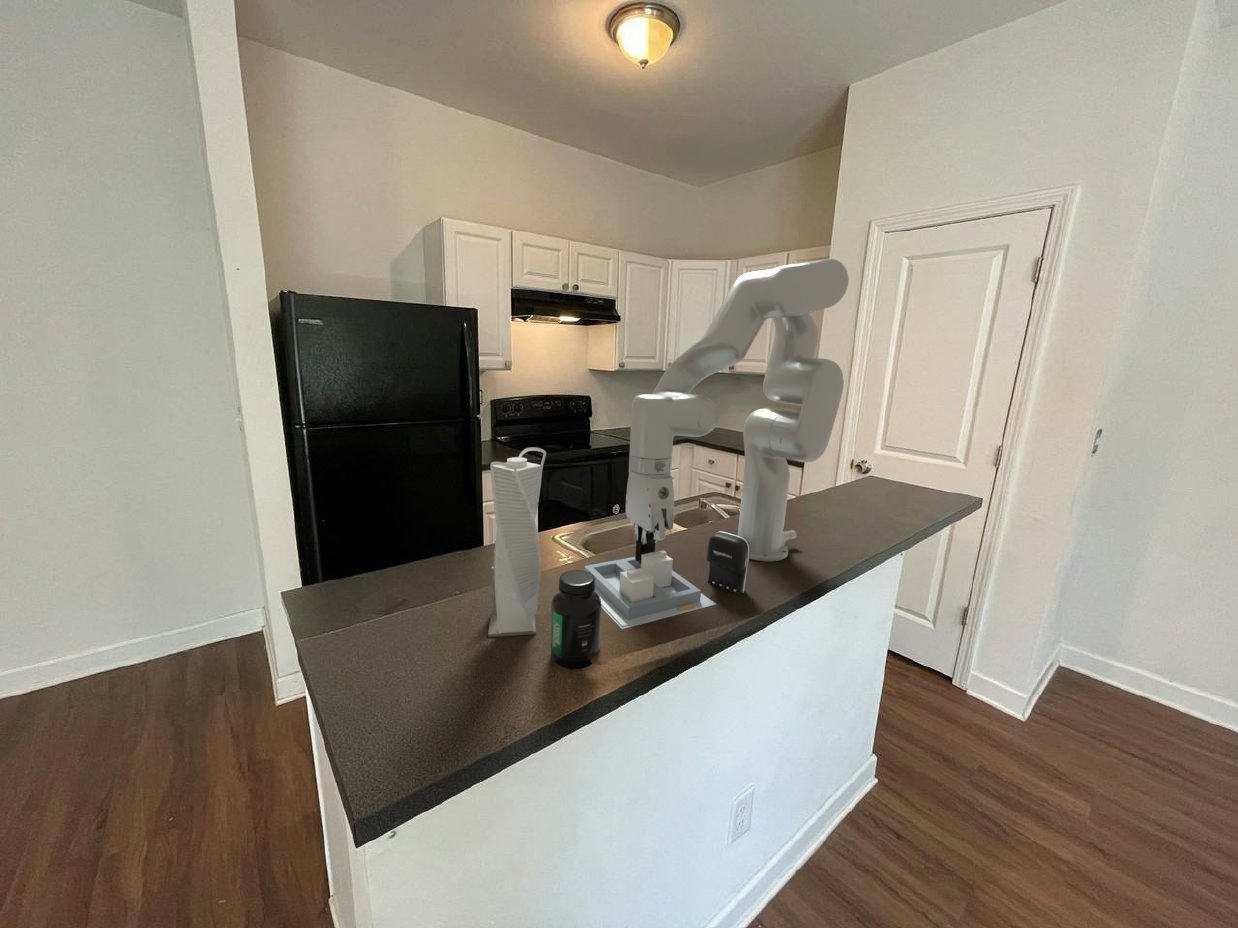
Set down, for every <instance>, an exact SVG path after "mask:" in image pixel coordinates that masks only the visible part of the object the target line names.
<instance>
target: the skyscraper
mask: <svg viewBox="0 0 1238 928" xmlns="http://www.w3.org/2000/svg"><path fill="white" fill-rule="evenodd" d="M530 451H531V452H532V451H533V452H534V451H535V452H541V453H543V456H542V459H541V463H540V464H537V463H534V462H533V463H532V462H528V458H526V457H523V455H524V454H526V453H528V452H530ZM546 456H547V451H546V450H545V449H542V448H541V447H536V446H535V447H534V446H533V447H525V449H523V450H522V451H521V452H520V453H519V455H518V456H515V457H509V458H507V459H506V462H502V461H492V462H491V463H490V467H489V468H490V475H491V476H490V477H491V479H490V480H491V489H492V490H491V491H492V499H493V500H492V502H493V511H494V519H495V523H496V532H495V540H494V546H495V547H494V551H493V559H494V561H493V566H491V577H492V588H491V592H490V596H491V601H492V602H491V603H492V606H491V611H490V612H491V613H490V620H489V625H488V632H487V637H488V638H491V637H492V638H493V637H494V638H495V637H509V636H512V637H513V636H525V635H526V636H527V635H536V634H537V629H536V628H537V626H536V622H537V621H536V617H537V610H538V609H537V608H538V602H539V596H540V594H539V593H540V586H541V585H540V582H541V569H542V568H541V567H542V564H541V545H540V538H539V533H538V527H537V523H536V518H537V514H538V513H537V512H538V507H539V500H540V493H541V486H542V478H543V468H544V464H545V461H546Z"/></svg>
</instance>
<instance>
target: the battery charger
mask: <svg viewBox="0 0 1238 928" xmlns="http://www.w3.org/2000/svg"><path fill="white" fill-rule="evenodd" d="M707 543H708V544H707V551H706V552H707V553H706V562H709V571H708V573H709V574H708V578H707V580H708V581H707V584H709V585H710V584H712V585H714V587H721V589H722V590H726V589H727V590H728V592H729V593H733V592H734V593H736V595H741V594H743V593H745V588H746V581H747V577H748V570H749V564H750V563H749V562H750V559H749V554H750V545H749V542H748V540H747V539H745V538H744V537H741V536H738V534H733V533H731V532H727V531H718V532H715V534H713V535H712V536H711V537H710V538H709V540H708V542H707Z"/></svg>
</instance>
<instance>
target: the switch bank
mask: <svg viewBox="0 0 1238 928" xmlns="http://www.w3.org/2000/svg"><path fill="white" fill-rule="evenodd" d="M583 568H584V569H583V570H584V571H587V572H590V573H591V574H593V575H594V577H595V592H596V593H597V594H598V595H599V597H600V599H601V610H603V611H604V612H605V613H606V614H607V615H608V616H609V617H610V618H611V619H612V620H613V621H614V623H616V625H617V626H618V627H619V628H620V629H621V630H626V629H629V628H632V627H636V626H640V625H643V624H648V623H651V622H655V621H659V620H663V619H666V618H671V617H674V616H677V615H682V614H684V613H685V614H686V613H689V612H692V611H696V610H700V609H704V608H708V607H711V606H715V605H717V603H716V602H714V601H713V600H711V599H710V598H708V597H707V596H706V595H705V594H704V593H702V590H701V589H699V587H696V586H695V585H694V584H692V582H689V581H688V580H687V579H685V578H684V577H683V576H681V575H680V574H679V573H677V572H675V571H674V570H673V569H672V580H671V586H667V587H662V588H660V587H658V586H657V585H656V584H655V583H654V585H653V598H651V599H647V600H643V601H639V602H634V603H631V602H629V601H628V600H627V599H626V598H625V597H624V596H623V595H622V594H621V593H620V592H619V589H620V572H625V571H630V570H635V569H640V568H641V564H640V563H639V562H638V561H636V560H635V556H631V557H627V558H626V557H625V558H622V559H621V558H620V559H615V560H614V559H613V560H610V561H605V562H600V563H594V564H593V563H592V564H588V565H584V567H583Z"/></svg>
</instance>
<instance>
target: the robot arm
mask: <svg viewBox="0 0 1238 928" xmlns="http://www.w3.org/2000/svg"><path fill="white" fill-rule="evenodd" d="M848 287H849V274H848V271H847V268H846V266H845V265H844V264H843V263H842V262H841V261H840V260H837V259H834V258H826V259H824V258H823V259H819V260H811V261H806V262H805V261H804V262H796V263H789V264H784V265H781V266H777V267H775V268H769V269H761V270H755V271H751V272H746V273H743V274H742V275H740V276H739V277H738V278H737V279H736V280H735V281H734V282H733V283H732V285H731V287H730V289H729V291H728V292H727V294H726V296H725V297H724V300H723V301H722V303H721V305H720V307H719V308H718V310H717V312H716V314H715V316H714V318H713V320H712V321H711V323H710V324H709V326H708V328H707V330H706V331H705V333H704V335H703V336H702V337H701V338H700V339H699V340H698V341H697V342H695V343H694V344H693V345H691V346H690V347H689V348H688V349H687V350H686V351H684V352H683V353H682V354H681V355H680V356H679V357H677V358H676V359H675V360H674V361H673V362H672V363H671V364H670V365H669V366H668V367H667V369H666V370H665V371H664V373H663V374H662V375H661V378H660V379H659V381H658V383H657V385H656V387H655V388H654V389H653V392H652V394H651V393H649V394H648V393H647V394H646V393H645V394H638V395H636V396H634V398H633V399H632V402H631V414H630V415H631V416H630V439H629V454H628V455H629V456H628V457H629V458H628V479H627V484H626V485H627V486H626V494H625V516H626V517H627V519H629V521H630V523H631V524H632V526H633V527H634V538H635V540H636V541H635V556H634V557H635V560H636V561H638V562H639V563H640V564H641V560H642V554H647V553H652V552H656V543H657V542H658V541H663V540H665V539H666V530H667V531H668V530H672V529H673V527H674V520H675V495H674V494H675V492H674V491H675V490H674V481H673V480H674V479H673V476H672V475H671V474H672V461H673V446H674V437H676V436H681V437H690V438H699V437H703V436H706V435H708V434H710V433H711V432H712V431H713V430H714V429H715V428H716V427H717V425H718V422H719V419H720V411H719V408H718V406H717V405H716V403H715V402H714V401H713V400H712V399H710V398H709V397H708V396H705V395H701V394H697V393H691V391H692V390H693V389H694V388H695V387H696V386H697V385H698V384H699V383H700V382H702V381H703V380H704V379H706V378H707V377H709V376H711V375H714V374H717V373H719V372H722V371H724V370H726V369H728V368H730V367H733V366H735V365H737V364H739V363H740V362H741V361H743V360H744V358H745V357H746V355H747V353H748V351H749V350H750V348H751V346H752V345H753V342H754V341H755V339H756V337H757V335H758V333H759V332H760V329H761V328H762V326H763V325H764V323H765V321H766V320H768V319H773V323H774V337H773V343H772V347H771V351H770V355H769V360H768V362H767V367H766V370H765V373H764V379H763V383H762V384H763V385H762V390H763V394H764V396H765V397H766V398H767V399H768V400H770V401H772V402H775V403H779V404H784V405H785V404H787V405H793V406H800V407H801V409H800V412H798V411H792V410H790V409H789V410H787V409H781V408H773V407H763V408H758V409H756V410H754V411H752V412H750V414H749V415H748V416H747V417H746V419H745V422H744V424H743V429H742V432H743V433H742V436H743V438H742V439H743V446H744V447H743V448H744V469H743V477H742V478H743V480H742V489H741V498H740V499H741V500H740V508H739V511H740V512H739V519H738V527H737V528H738V529H737V535H738V536H741V537H744V538H745V539H747V540H748V542H749V545H750V554H749V560H752V561H760V562H777V561H778V562H779V561H782V560H784V559H786V558H787V557H788V555H789V547H788V546H787V545H785V543H786V542H787V541H788V540H789V541H790V540H793V539H794V540H795V539H796V538H797V536H798V535H797V532H796V530H794V529H792V530H787V531H786V530H785V531H784V529H785V528H784V527H785V520H786V513H787V503H788V497H789V488H790V481H791V474H790V468H789V464H788V461H787V459H788V460H791V461H797V462H802V463H813V462H816V461H817V460H818V459H820V458H821V457H822V456H823V455H824V453H825V451H826V450H827V448H828V445H829V442H830V439H831V435H832V432H833V428H834V426H835V425H834V424H835V421H836V418H837V414H838V411H839V408H840V405H841V404H840V403H841V400H842V395H843V392H844V385H845V384H844V382H845V381H844V374H843V370H842V368H841V367H840V365H839V364H838V363H837V362H835V361H834V360H831V359H828V358H822V357H821V358H820V357H815V353H816V350H817V349H816V348H817V344H818V341H819V340H818V339H819V331H818V326H817V324H816V321H815V320H814V318H813V316H812V313H815V312H819V311H822V310H825V309H828V308H832V307H834V306H835V305H837V304H838V303H839V302H840V301H841V300H842V299H843V298H844V296H845V294H846V292H847V290H848Z"/></svg>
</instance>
